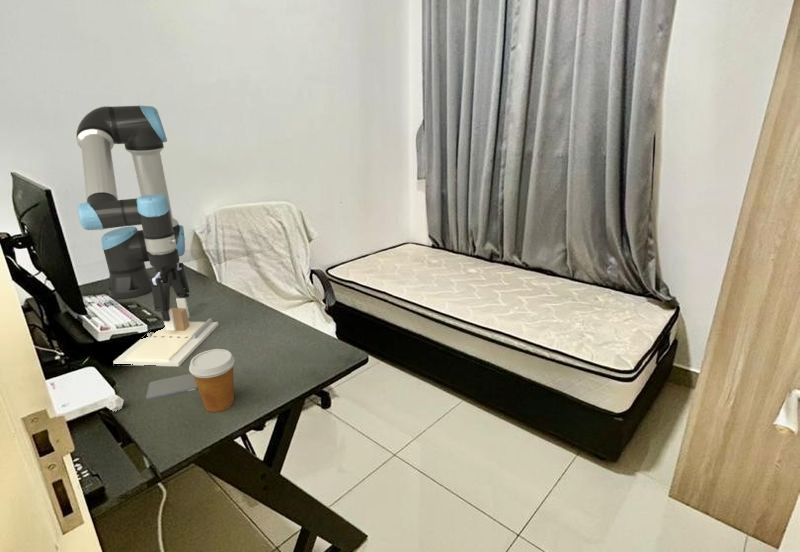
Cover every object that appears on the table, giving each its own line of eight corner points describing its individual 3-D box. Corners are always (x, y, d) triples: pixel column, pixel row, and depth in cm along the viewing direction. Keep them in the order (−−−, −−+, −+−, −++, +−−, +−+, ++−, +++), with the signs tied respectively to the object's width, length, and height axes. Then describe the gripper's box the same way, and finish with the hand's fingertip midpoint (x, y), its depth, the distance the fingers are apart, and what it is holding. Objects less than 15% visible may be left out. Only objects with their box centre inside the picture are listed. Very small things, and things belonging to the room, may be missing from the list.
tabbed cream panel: (167, 324, 141) (162, 304, 139) (204, 324, 141) (200, 305, 138) (152, 336, 134) (147, 316, 132) (191, 337, 133) (187, 317, 131)
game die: (104, 410, 104) (100, 399, 103) (120, 402, 107) (117, 391, 106) (112, 415, 102) (109, 404, 101) (128, 406, 105) (126, 395, 104)
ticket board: (163, 323, 145) (162, 317, 144) (218, 324, 143) (217, 318, 142) (113, 364, 122) (111, 357, 121) (178, 366, 121) (177, 358, 120)
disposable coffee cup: (249, 402, 106) (241, 357, 102) (209, 422, 99) (200, 375, 95) (228, 386, 112) (220, 343, 108) (189, 405, 105) (180, 359, 101)
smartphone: (149, 381, 114) (213, 368, 119) (149, 384, 114) (213, 371, 119) (144, 398, 107) (213, 384, 112) (145, 402, 108) (213, 387, 112)
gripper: (155, 262, 119) (172, 340, 127) (193, 240, 138) (205, 309, 146) (127, 262, 119) (146, 339, 128) (169, 240, 138) (183, 309, 146)
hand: (178, 323), depth 137 cm, fingers open, 7 cm apart
